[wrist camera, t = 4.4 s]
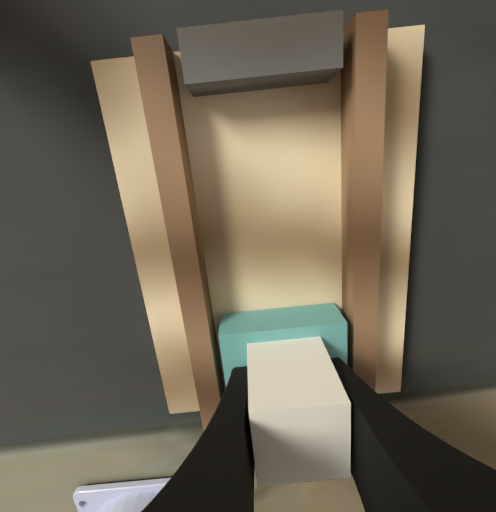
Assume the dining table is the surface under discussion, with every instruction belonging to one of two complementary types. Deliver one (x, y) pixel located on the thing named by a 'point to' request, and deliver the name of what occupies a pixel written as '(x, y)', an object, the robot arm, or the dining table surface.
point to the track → (268, 183)
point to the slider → (292, 390)
